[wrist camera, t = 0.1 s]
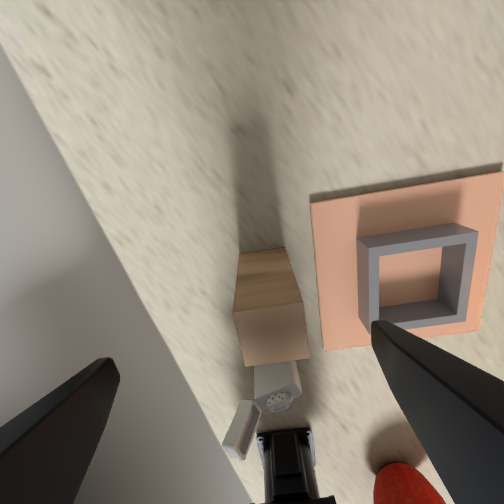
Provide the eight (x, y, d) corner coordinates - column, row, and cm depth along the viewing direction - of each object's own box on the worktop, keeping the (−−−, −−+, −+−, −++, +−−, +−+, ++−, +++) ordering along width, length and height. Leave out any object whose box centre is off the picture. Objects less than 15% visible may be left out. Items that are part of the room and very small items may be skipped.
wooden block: (289, 286, 25) (309, 358, 16) (247, 293, 25) (245, 366, 16) (284, 246, 23) (303, 302, 15) (239, 254, 23) (232, 312, 15)
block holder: (475, 327, 26) (501, 348, 23) (322, 347, 27) (330, 370, 24) (500, 171, 21) (539, 174, 18) (309, 202, 22) (318, 210, 19)
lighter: (288, 348, 27) (302, 423, 20) (296, 360, 28) (312, 437, 20) (228, 373, 28) (220, 453, 21) (236, 384, 29) (231, 466, 21)
